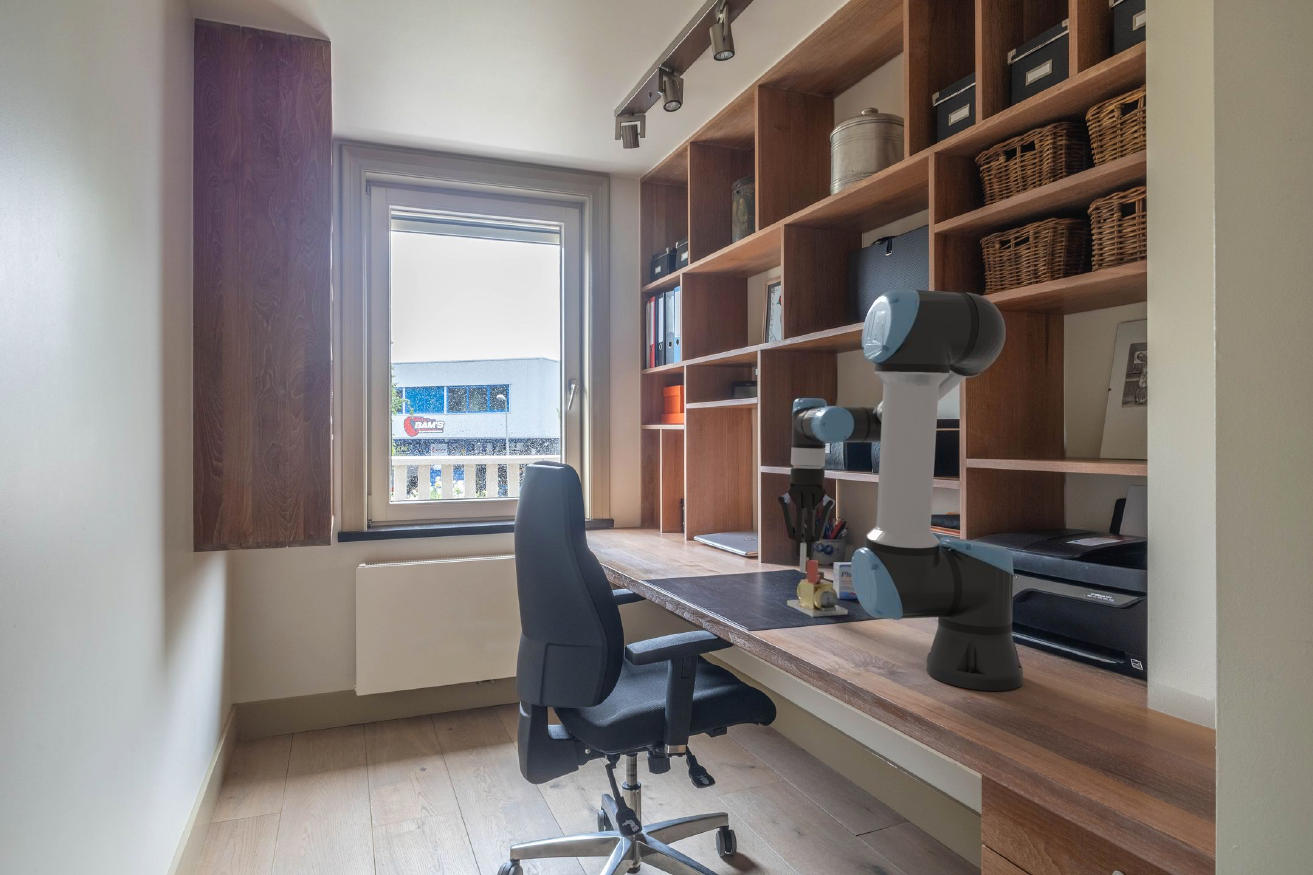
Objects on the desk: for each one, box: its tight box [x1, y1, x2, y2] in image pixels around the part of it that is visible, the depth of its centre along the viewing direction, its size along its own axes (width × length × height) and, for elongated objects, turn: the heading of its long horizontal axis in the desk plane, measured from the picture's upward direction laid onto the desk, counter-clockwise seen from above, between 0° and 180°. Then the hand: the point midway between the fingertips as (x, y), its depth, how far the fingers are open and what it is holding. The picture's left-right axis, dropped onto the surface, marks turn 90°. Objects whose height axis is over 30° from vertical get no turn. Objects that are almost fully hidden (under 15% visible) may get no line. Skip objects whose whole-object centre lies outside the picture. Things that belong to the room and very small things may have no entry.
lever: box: [806, 559, 825, 583], centre depth 168 cm, size 3×10×5 cm, turn 159°
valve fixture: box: [786, 578, 849, 618], centre depth 171 cm, size 12×9×7 cm
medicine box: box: [832, 561, 858, 600], centre depth 184 cm, size 8×4×9 cm, turn 95°
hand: (803, 571), depth 165 cm, fingers closed
